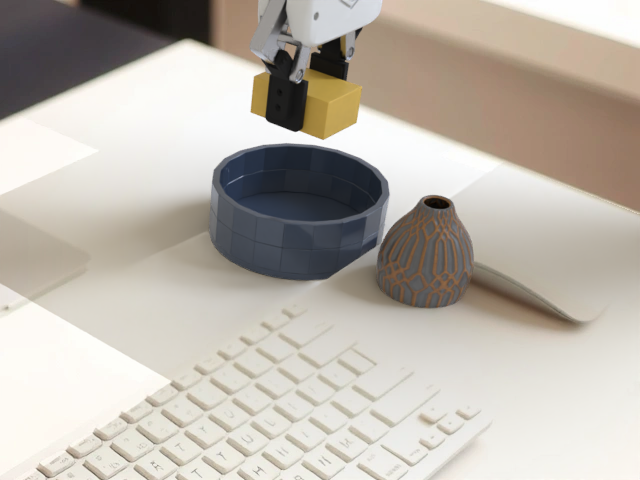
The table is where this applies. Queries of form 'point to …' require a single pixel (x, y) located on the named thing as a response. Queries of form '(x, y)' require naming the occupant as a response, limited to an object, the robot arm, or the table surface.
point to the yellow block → (317, 102)
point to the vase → (426, 256)
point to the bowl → (296, 209)
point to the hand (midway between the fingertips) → (304, 113)
